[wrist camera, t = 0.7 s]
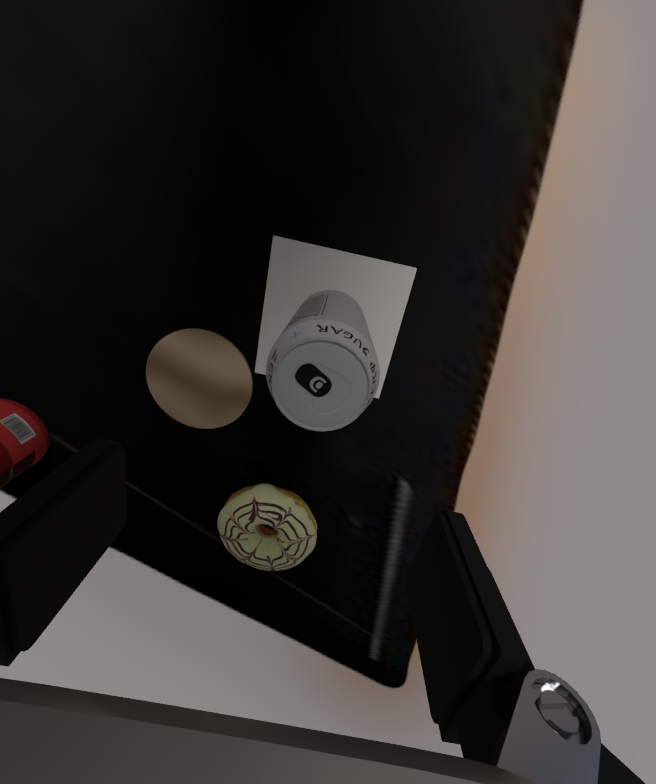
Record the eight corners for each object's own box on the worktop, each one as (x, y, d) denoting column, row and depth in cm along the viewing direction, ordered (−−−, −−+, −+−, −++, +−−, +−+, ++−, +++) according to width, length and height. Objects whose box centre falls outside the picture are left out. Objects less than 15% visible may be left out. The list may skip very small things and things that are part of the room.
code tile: (273, 235, 28) (273, 235, 28) (416, 267, 29) (417, 268, 29) (255, 371, 33) (254, 372, 33) (378, 397, 34) (378, 398, 33)
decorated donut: (259, 459, 37) (251, 481, 34) (336, 512, 39) (336, 538, 36) (208, 517, 40) (195, 542, 37) (281, 563, 43) (276, 591, 39)
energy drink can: (332, 369, 32) (324, 462, 18) (282, 325, 31) (233, 389, 17) (379, 322, 30) (410, 385, 17) (328, 272, 29) (316, 297, 15)
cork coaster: (149, 317, 31) (146, 319, 31) (259, 341, 32) (257, 342, 31) (148, 414, 35) (145, 417, 35) (246, 434, 36) (245, 437, 35)
